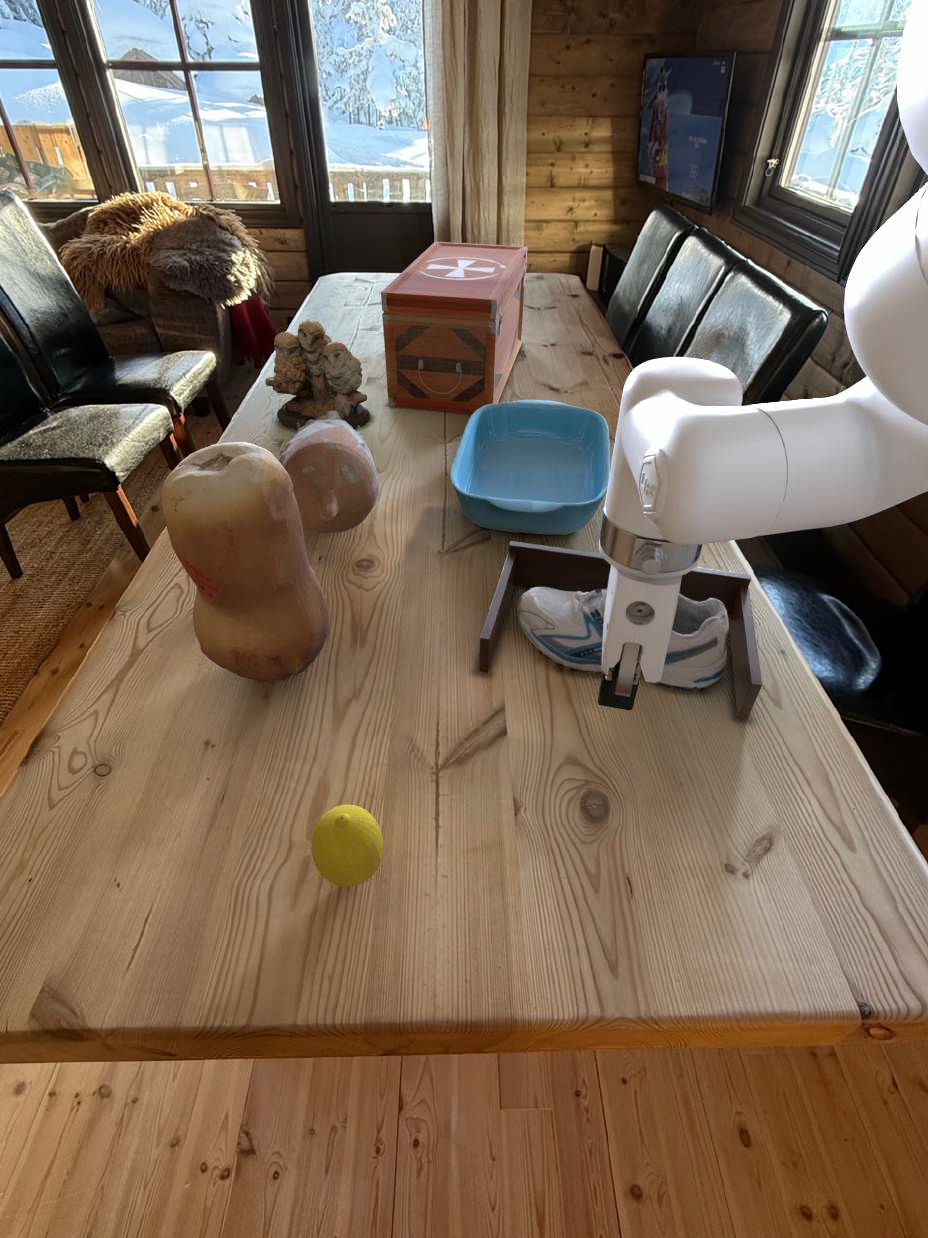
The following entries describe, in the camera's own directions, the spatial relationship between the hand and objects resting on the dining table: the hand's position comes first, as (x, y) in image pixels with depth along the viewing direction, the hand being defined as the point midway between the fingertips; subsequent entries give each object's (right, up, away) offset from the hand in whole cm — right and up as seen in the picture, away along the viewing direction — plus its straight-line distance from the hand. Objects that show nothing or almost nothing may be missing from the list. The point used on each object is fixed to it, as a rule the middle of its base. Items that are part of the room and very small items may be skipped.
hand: (615, 701), depth 61 cm
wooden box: (-14, +59, +77) cm, 98 cm away
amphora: (-33, +24, +36) cm, 55 cm away
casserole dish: (-4, +28, +41) cm, 50 cm away
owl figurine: (-40, +44, +59) cm, 84 cm away
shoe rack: (+3, +5, +14) cm, 15 cm away
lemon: (-23, -13, -7) cm, 28 cm away
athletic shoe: (+3, +4, +13) cm, 14 cm away
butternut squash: (-35, +3, +12) cm, 37 cm away
